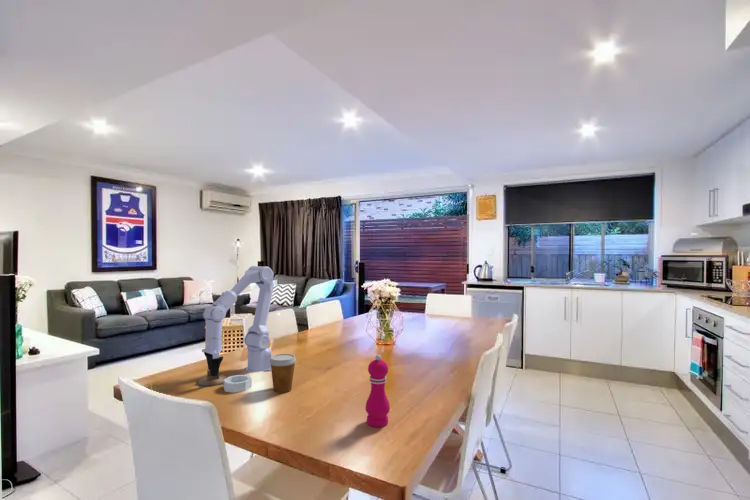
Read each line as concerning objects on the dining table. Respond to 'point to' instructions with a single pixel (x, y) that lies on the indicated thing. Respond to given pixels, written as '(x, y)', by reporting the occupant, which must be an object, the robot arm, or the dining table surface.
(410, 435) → the dining table surface
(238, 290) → the robot arm
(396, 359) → the dining table surface
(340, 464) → the dining table surface
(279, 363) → the disposable coffee cup
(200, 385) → the mat
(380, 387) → the pepper mill
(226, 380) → the bowl
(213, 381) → the lid
